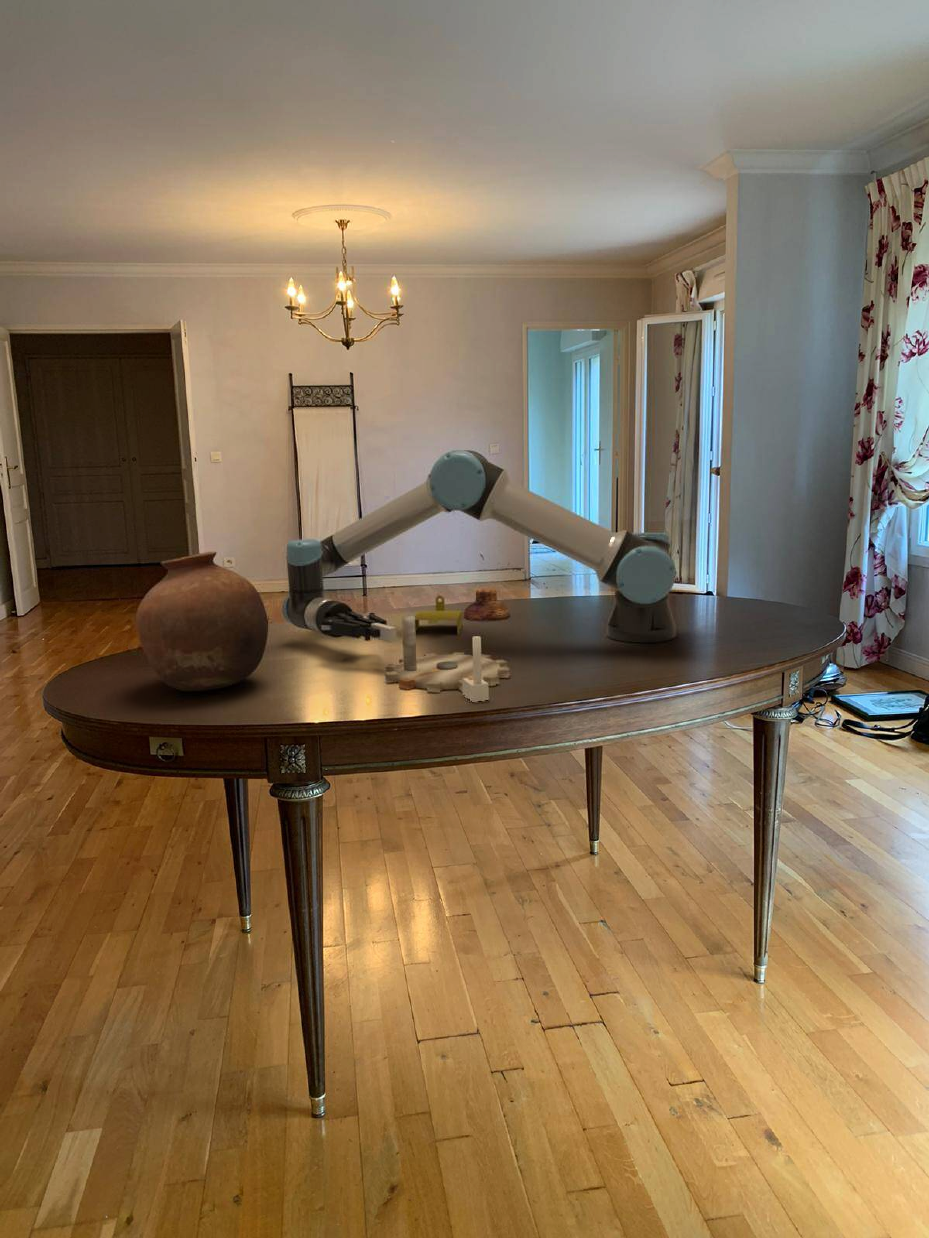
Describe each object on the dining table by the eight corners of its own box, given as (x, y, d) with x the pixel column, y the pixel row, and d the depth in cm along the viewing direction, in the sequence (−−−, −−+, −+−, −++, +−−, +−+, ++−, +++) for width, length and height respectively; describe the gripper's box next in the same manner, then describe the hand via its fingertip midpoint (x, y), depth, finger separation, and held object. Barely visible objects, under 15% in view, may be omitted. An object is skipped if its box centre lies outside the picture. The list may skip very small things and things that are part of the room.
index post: (462, 694, 153) (461, 633, 151) (478, 693, 154) (477, 632, 152) (472, 702, 149) (470, 639, 146) (488, 700, 150) (487, 637, 147)
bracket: (397, 607, 197) (407, 596, 211) (398, 641, 198) (409, 627, 213) (466, 607, 195) (471, 595, 210) (466, 641, 197) (472, 627, 212)
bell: (454, 617, 222) (453, 589, 221) (490, 611, 229) (490, 583, 228) (483, 624, 213) (482, 594, 212) (520, 617, 220) (519, 589, 219)
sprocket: (527, 665, 171) (527, 608, 169) (476, 697, 151) (475, 632, 149) (422, 655, 182) (421, 601, 179) (361, 684, 161) (358, 623, 159)
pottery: (277, 696, 155) (267, 556, 150) (138, 710, 149) (124, 564, 144) (267, 666, 177) (259, 542, 172) (146, 677, 170) (133, 549, 165)
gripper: (357, 630, 190) (421, 648, 172) (303, 639, 182) (365, 660, 164) (355, 596, 188) (420, 611, 170) (301, 604, 180) (363, 620, 162)
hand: (393, 635), depth 167 cm, fingers closed
